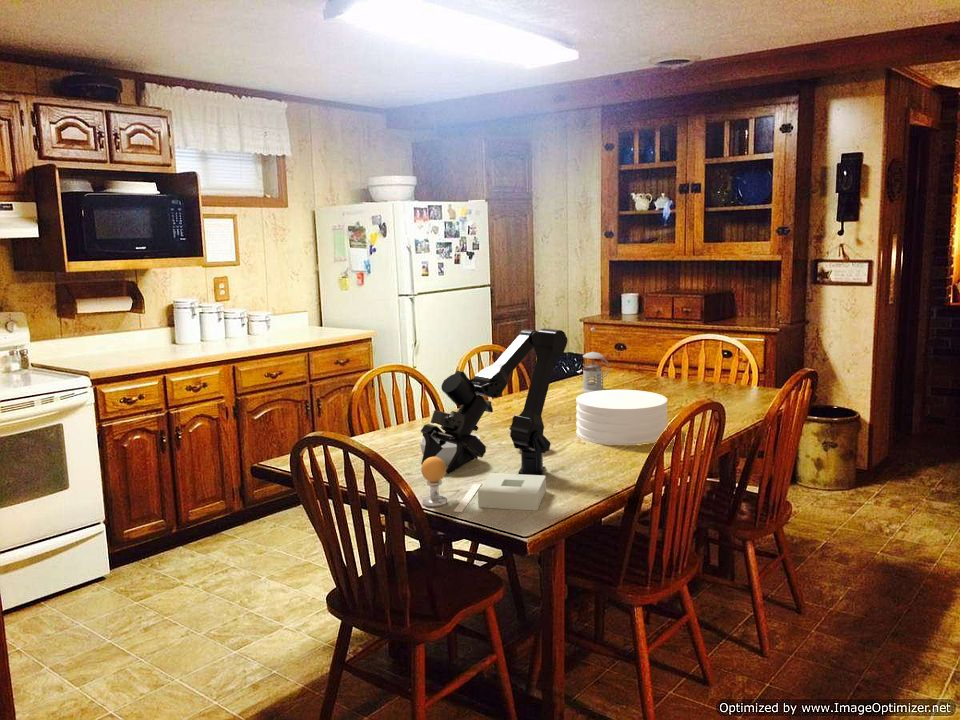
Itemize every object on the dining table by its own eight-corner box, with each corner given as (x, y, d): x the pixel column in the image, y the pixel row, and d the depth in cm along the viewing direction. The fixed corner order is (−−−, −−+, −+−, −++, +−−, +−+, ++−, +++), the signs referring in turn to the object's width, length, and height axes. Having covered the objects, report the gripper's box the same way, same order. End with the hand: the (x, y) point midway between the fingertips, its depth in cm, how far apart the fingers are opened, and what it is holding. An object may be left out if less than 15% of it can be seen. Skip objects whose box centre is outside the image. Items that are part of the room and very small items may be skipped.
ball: (425, 476, 196) (425, 453, 195) (449, 478, 195) (448, 454, 194) (418, 484, 191) (417, 460, 190) (442, 485, 189) (442, 461, 188)
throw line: (473, 484, 207) (473, 483, 207) (481, 485, 206) (481, 484, 206) (453, 511, 187) (453, 511, 187) (461, 512, 187) (461, 511, 187)
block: (491, 488, 204) (490, 473, 203) (545, 491, 200) (545, 475, 200) (478, 507, 190) (478, 490, 189) (536, 510, 187) (536, 494, 186)
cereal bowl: (448, 451, 238) (448, 427, 237) (492, 460, 228) (492, 436, 226) (408, 465, 225) (407, 440, 224) (453, 475, 215) (452, 450, 214)
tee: (426, 498, 197) (425, 476, 196) (450, 499, 196) (449, 478, 195) (419, 506, 191) (418, 484, 191) (443, 508, 190) (442, 485, 189)
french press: (576, 388, 322) (576, 326, 318) (602, 386, 325) (603, 325, 321) (587, 393, 313) (586, 329, 309) (614, 391, 316) (614, 328, 312)
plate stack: (668, 425, 262) (669, 390, 260) (664, 448, 236) (665, 410, 234) (583, 421, 270) (583, 388, 268) (569, 444, 243) (569, 407, 241)
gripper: (425, 392, 200) (391, 443, 194) (476, 403, 187) (441, 458, 181) (450, 417, 207) (417, 468, 201) (500, 429, 193) (467, 484, 187)
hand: (434, 469), depth 192 cm, fingers open, 9 cm apart
